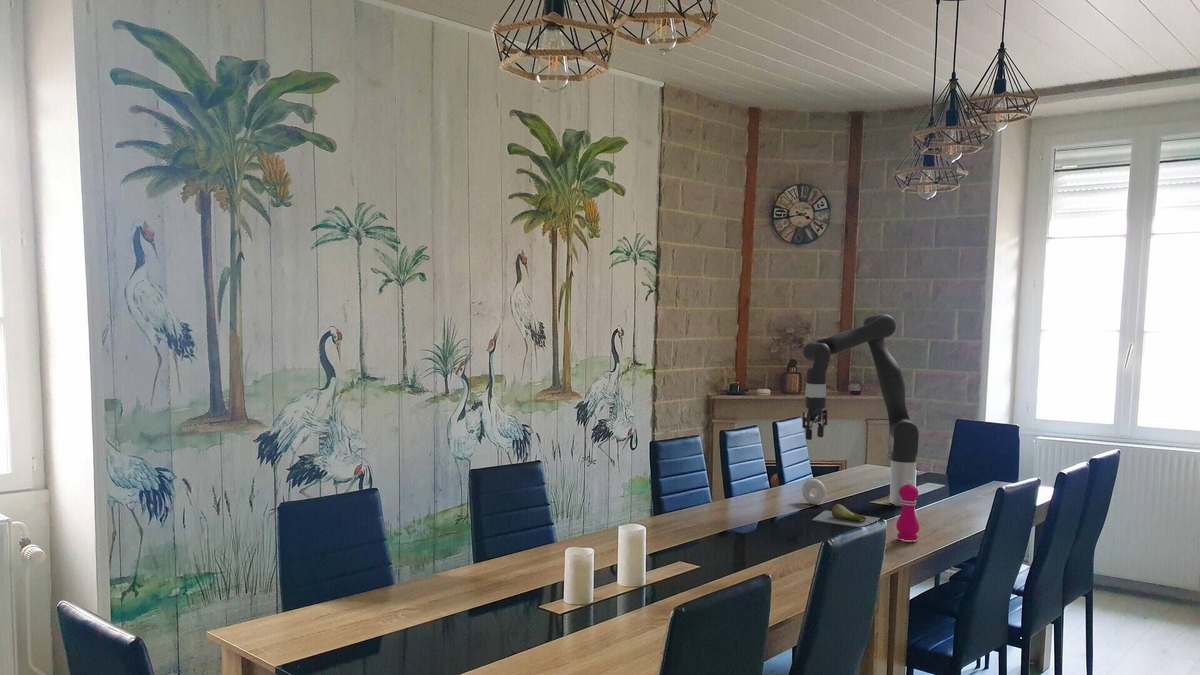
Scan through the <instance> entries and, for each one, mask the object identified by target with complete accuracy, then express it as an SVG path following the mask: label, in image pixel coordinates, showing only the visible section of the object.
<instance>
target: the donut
mask: <svg viewBox="0 0 1200 675" xmlns="http://www.w3.org/2000/svg"><path fill="white" fill-rule="evenodd" d="M813 488H814V489H816V492H817V494H815V495H814V494H812V492H811V490H812V489H813ZM801 492H802V496H803V498H804V500H805V501H806V502H807V503H808V504H811V505H814V506H815V505H821V504H822V503H823V502H824V501H825V499H826V498H827V488H826V486H825V485H824V483H823V482H822V481H820V480H819V479H817V478H810V479H807V480H806V481H805V482H804V483H803V485H802V488H801Z"/></svg>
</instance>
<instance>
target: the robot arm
mask: <svg viewBox="0 0 1200 675" xmlns="http://www.w3.org/2000/svg"><path fill="white" fill-rule="evenodd" d="M896 324H897V323H896V320H895V318H894V317H892V316H891V315H889V314H884V313H883V314H875V315H870V316H868V317H865V319H864V321H863V325H862V326H860V327H859V326H858V327H855V328H852V329H848V330H845V331H841V332H838V333H836V334H833V335H830V336H828V337H825V338H820V339H818V340H812V341H811V342H808V343H807V344H806V345H805V346H804V348H803V350H802V351H803V352H802V354H803V356H804V358H805V359H806V360H808V361H811V362H813V364H812V367H809V368H808V369H807V370H806V382H805V383H806V385H805V396H804V397H805V400H804V401H805V402H804V404H805V405H804V407H805V408H807V412H806V411H803V412H802V421H801V422H802V426H801V427H802V429H804V430H805V440H808V441H809V440H810V441H812V439H813V428H814V426H815V425H817V434H816V435H817V437H818V438H824V434H825V432H824V431H825V430H824V428H825V427H826V426H828V409H826V408H827V402H826V401H827V385H826V384H827V383H826V382H827V376H826V374H827V371H828V368H829V363H830V360H831V355H837V354H840V353H843V352H845V351H848V350H849V349H852V348H855V347H856V346H859V345H862V344H864V343H868V346H869V350H870V352H871V356H872V359H873V363H874V367H875V370H876V376H877V380H878V384H879V388H880V391H881V395H882V398H883V401H884V403H885V404H884V405H885V407H886V408H885V409H886V411H887V418H888V425H889V432H890V436H891V437H892V438H893V443H892V444H893V447H892V448H893V449H892V452H891V453H890V477H889V478H890V484H889V491H890V492H889V504H890V503H892V504H894V505H893V506H896V507H902V504H901V503H900V502H901V499H902V498H901V496H900V495H899V490H900V488H901V487H902V486H903V485H907V484H906V482H907V481H908V480H910V481H911V482H912V484H911V485H913V486H915V487H916V477H917V476H916V473H917V472H916V471H917V469H916V466H917V456H918V452H919V437H920V436H919V429H918V427H917V425H916V424H915V423H914V422H913V421H911V418H910V416H909V412H908V409H907V407H906V406H907V405H906V386H905V380H904V375H903V372H902V369H901V366H900V364H899V363H898V362H897V360H896V359H895V358H894V356H893V355H892V354H891V353H890V351H889V349H888V347H887V343H886V339H887V338H889V337H891V336H892V335H893V334H894V333H895V331H896V328H897V325H896ZM885 338H886V339H885ZM892 504H891V505H892Z"/></svg>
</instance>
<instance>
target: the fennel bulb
mask: <svg viewBox="0 0 1200 675" xmlns="http://www.w3.org/2000/svg"><path fill="white" fill-rule="evenodd" d="M831 511H832V515H833V516H834V517H836V518H842V519H853V520H856V521H859V522H863V521H865V520H866V517H864V516H865V515H862V514H861V515H862V516H861V515H860V514H858V513H855V512H852V511H850V510H849V509H848V508H846V507H845V506H844V505H842V504H840V503H838V504H837V503H836V504H834V505H833V506H832V509H831Z"/></svg>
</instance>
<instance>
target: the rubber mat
mask: <svg viewBox="0 0 1200 675" xmlns="http://www.w3.org/2000/svg"><path fill="white" fill-rule="evenodd" d="M861 516H864V517H866V520H865V521H863V522H859V521H856V520H853V519H842V518H836V517H834V516H833V515H832V510H827V509H826V510H823V511H822V512H821V513H819V514H818V515H816V516H815V517H813V518H812V521H813V522H819V523H826V524H832V525H837V526H838V525H840V526H844V527H845V526H846V527H853V528H859V527H861V526H865V525H868V524H870V523H873V522H875V521H877V522H879V521H880V520H881V519H880V518H881V517H877V516H870V515H862V514H861ZM878 520H879V521H878Z"/></svg>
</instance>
